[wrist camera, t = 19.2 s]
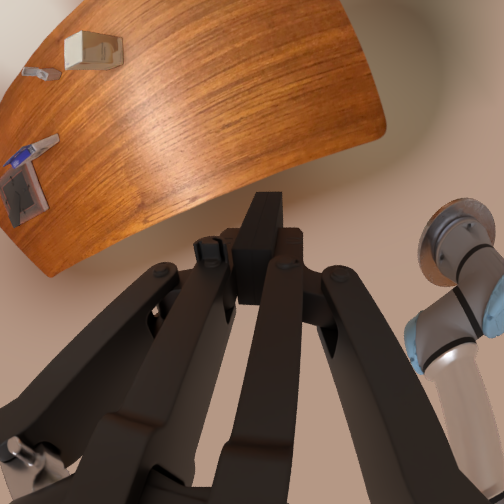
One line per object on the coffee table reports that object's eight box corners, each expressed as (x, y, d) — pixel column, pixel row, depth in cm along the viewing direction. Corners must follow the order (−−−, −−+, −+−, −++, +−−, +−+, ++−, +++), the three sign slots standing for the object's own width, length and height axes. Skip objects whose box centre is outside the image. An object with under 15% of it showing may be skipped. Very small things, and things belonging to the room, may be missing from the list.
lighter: (61, 72, 38) (36, 75, 32) (59, 79, 39) (33, 83, 33) (46, 64, 37) (21, 67, 30) (43, 71, 38) (19, 74, 31)
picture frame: (18, 224, 63) (50, 207, 57) (13, 228, 61) (44, 211, 55) (0, 179, 55) (29, 153, 50) (-5, 182, 53) (22, 155, 47)
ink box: (37, 159, 50) (4, 175, 41) (34, 151, 49) (1, 166, 40) (61, 141, 47) (25, 156, 38) (58, 132, 46) (22, 146, 37)
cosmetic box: (124, 64, 38) (82, 63, 28) (106, 70, 39) (64, 72, 28) (122, 36, 35) (81, 29, 24) (105, 43, 35) (63, 39, 25)
